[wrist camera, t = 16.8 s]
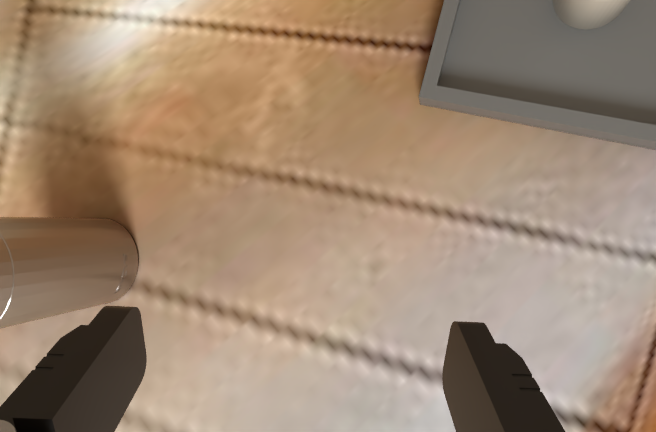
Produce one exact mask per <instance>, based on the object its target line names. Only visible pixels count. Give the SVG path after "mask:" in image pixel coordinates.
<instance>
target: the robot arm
mask: <svg viewBox="0 0 656 432" xmlns="http://www.w3.org/2000/svg"><path fill="white" fill-rule="evenodd" d="M137 269H138V253H137V249H136V245H135V243H134V241H133V238H132V237H131V235H130V234H129V232H128V231H127V230H126V229H125V228H124V227H123V226H122V225H120V224H119V223H117V222H115V221H113V220H109V219H100V218H39V217H0V329H1V328H5V327H9V326H13V325H17V324H22V323H26V322H30V321H34V320H38V319H43V318H47V317H51V316H55V315H59V314H64V313H68V312H72V311H76V310H80V309H85V308H89V307H93V306H97V305H102V304H106V303H110V302H113V301H115V300H118V299H119V298H121V297H122V296H123V295H125V294H126V292H127V291H128V290H129V289H130V287H131V286H132V284H133V282H134V280H135V277H136V274H137ZM145 369H146V349H145V342H144V335H143V327H142V320H141V314H140V311H139V309H138V308H137V307H122V306H105V307H104V308H102V309H101V311H100V312H99V313H98V314H97V316H96V317H95V318H94V319H93V320H92V322H91V323H90V324H89V325H80V326H79V327H77V328H76V329H74V330H73V331H71V332H70V333H68V334H66V335H65V336H63V337H62V338H60V340H59V341H58V342H57V343H56V344H55V345H54V346H53V348H52V349H51V350H50V351H49V352H48V353H47V357H44V358H43V359H42V360H41V361H40V362H39V363H38V365H37V366H36V369H35V370H32V371H31V373H30V374H29V375H28V376H27V377H26V378H25V379H24V380H23V382H22V383H21V384H20V385H19V386H18V387H17V388H16V390H15V391H14V392H13V393H12V394H11V395H10V396H9V398H8V399H7V400H6V401H5V402H4V403H3V404H2V405H1V407H0V432H114V431H115V429H116V428H117V426H118V424H119V422H120V420H121V418H122V417H123V415H124V413H125V411H126V409H127V407H128V405H129V404H130V402H131V400H132V398H133V396H134V394H135V392H136V391H137V389H138V387H139V385H140V383H141V381H142V379H143V376H144V373H145ZM443 389H444V394H445V397H446V401H447V404H448V407H449V410H450V413H451V417H452V420H453V423H454V426H455V429H456V432H565V431H564V429H563V427H562V425H561V424H560V422H559V420H558V419H557V417H556V415H555V413H554V412H553V410H552V408H551V407H550V405H549V403H548V402H547V400H546V398H545V396H544V395H543V393H542V392H540V388H539V386H538V384H537V383H536V381H535V379H534V378H532V374H531V372H530V371H529V369H528V367H527V366H526V364H525V362H524V360H523V359H522V358H521V357H520V356H519V355H518V354H517V353H516V352H515V351H513V350H512V349H511V348H510V347H509V346H508V345H507V344H498V343H495V341H494V339H493V337H492V336H491V334H490V332H489V330H488V328H487V326H486V325H485V324H484V323H479V322H455V321H454V322H453V323H452V325H451V329H450V334H449V339H448V345H447V350H446V355H445V361H444V366H443Z"/></svg>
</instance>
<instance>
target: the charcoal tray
mask: <svg viewBox="0 0 656 432" xmlns="http://www.w3.org/2000/svg"><path fill="white" fill-rule="evenodd" d="M419 100H420V105H426V106H431V107H436V108H441V109H446V110H452V111H457V112H462V113H467V114H472V115H477V116H483V117H488V118H493V119H498V120H503V121H508V122H514V123H519V124H524V125H529V126H534V127H540V128H545V129H550V130H555V131H560V132H565V133H571V134H576V135H581V136H586V137H591V138H597V139H602V140H607V141H612V142H617V143H622V144H628V145H633V146H638V147H643V148H648V149H654V150H656V0H631V1H630V2H629V3H628V4H627V6H626V7H625V8H624V10H623V11H622V12H621V13H620V14H619V16H618V17H616V18H615V19H614V20H613V21H611V22H610V23H608V24H606V25H604V26H602V27H599V28H595V29H588V30H585V29H577V28H573V27H571V26H568V25H567V24H565V23H564V22H563V21H561V19H560V18H559V17H558V16H557V14H556V12H555V10H554V7H553V0H444V3H443V7H442V11H441V14H440V18H439V22H438V26H437V30H436V33H435V37H434V41H433V45H432V49H431V52H430V56H429V60H428V64H427V68H426V71H425V75H424V79H423V83H422V87H421V90H420V94H419Z"/></svg>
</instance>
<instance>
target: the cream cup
mask: <svg viewBox="0 0 656 432" xmlns="http://www.w3.org/2000/svg"><path fill="white" fill-rule="evenodd" d="M630 1H631V0H553V7H554V10H555V12H556V14H557V16H558V17H559V18H560V19H561V21H563V22H564V23H565V24H567V25H568V26H571V27H573V28H577V29H585V30H588V29H595V28H599V27H602V26H604V25H606V24H608V23H610V22H611V21H613V20H614V19H615V18H616V17H618V16H619V14H620V13H621V12H622V11H623V10H624V8H625V7H626V6H627V4H628V3H629V2H630Z"/></svg>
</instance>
